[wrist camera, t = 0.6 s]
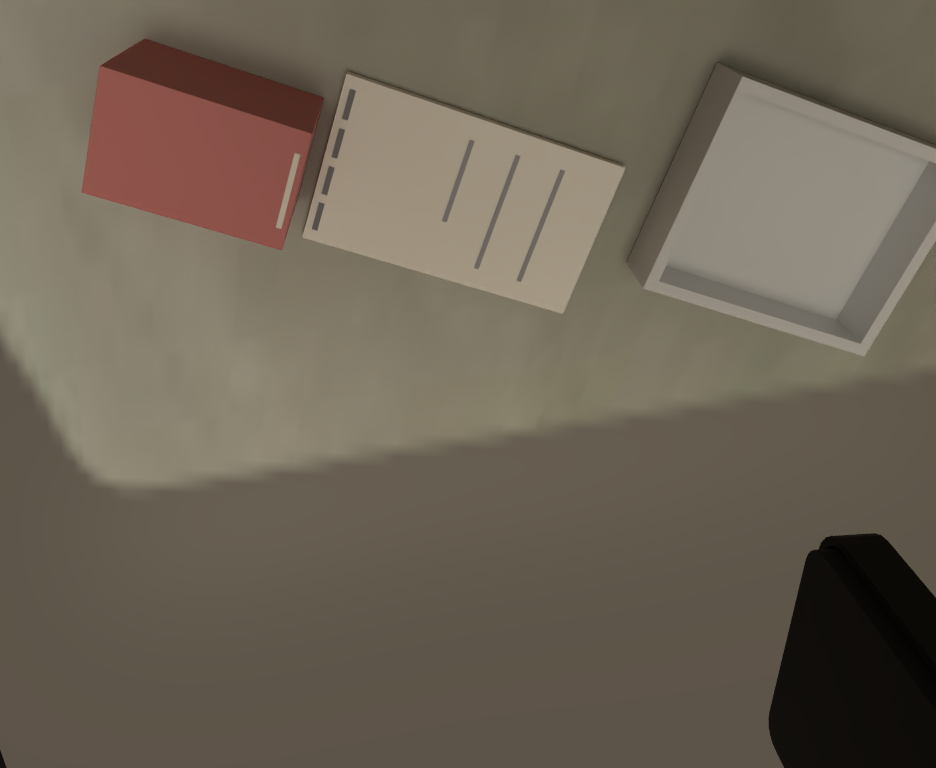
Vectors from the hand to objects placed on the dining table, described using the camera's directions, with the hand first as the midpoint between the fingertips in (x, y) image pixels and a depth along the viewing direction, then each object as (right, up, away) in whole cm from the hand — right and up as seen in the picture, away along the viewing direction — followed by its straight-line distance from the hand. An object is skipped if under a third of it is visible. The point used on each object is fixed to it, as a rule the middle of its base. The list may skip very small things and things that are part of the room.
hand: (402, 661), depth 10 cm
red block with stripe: (-9, +14, +26) cm, 30 cm away
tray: (+14, +11, +29) cm, 34 cm away
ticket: (0, +11, +28) cm, 30 cm away
